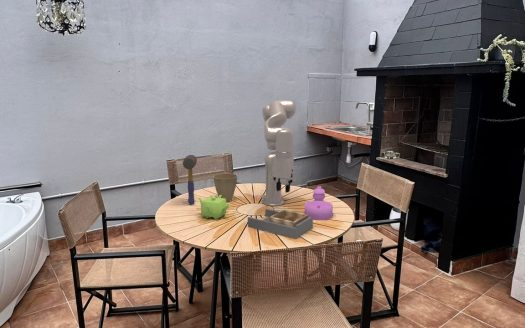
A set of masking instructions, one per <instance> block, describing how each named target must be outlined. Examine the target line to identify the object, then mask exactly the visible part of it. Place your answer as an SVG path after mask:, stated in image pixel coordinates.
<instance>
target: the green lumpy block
mask: <svg viewBox="0 0 525 328" xmlns="http://www.w3.org/2000/svg"><path fill="white" fill-rule="evenodd" d="M221 196H222V195H220V196H219V197H218V196H217V197H216V196H207V197H206V198H204V199H202V198H201V197H197V199H198V201H199V202H200V211H201V213H200V216H201V217H205V219H210V218H213V219H214V220H219V218H221V217H223V216H224V215H225V214H227V209H229V208H230V207H231V205H230V204H229V203H227V202H226V199H223V198H221Z"/></svg>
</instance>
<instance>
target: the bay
mask: <svg viewBox="0 0 525 328" xmlns="http://www.w3.org/2000/svg"><path fill="white" fill-rule="evenodd" d="M279 212H280V211H279V210H275V209H269V208H265V209H264V215H265V216H263V217H261V218H256V217H251V216H247V227H248V228H252V229H255V230H258V231H263V232H266V233H271V234H273V235H274V234H276V235H279V236H282V237H287V238H290V239H295V240H297V239H298V238H300V237H302V236H303V235H304V234H306V233H307V232H309V231H310V230H312V229H313V228H314V225H313V224H314V220H313V219H312V217H309V218H307V219H305V220H304V221H302V222H300V223H299V224H297V225H295V227H291V226H286V225H282V224H278V223H273V222H269V217H271V216H273V215H275V214H277V213H279Z"/></svg>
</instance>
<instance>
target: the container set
mask: <svg viewBox="0 0 525 328" xmlns="http://www.w3.org/2000/svg"><path fill="white" fill-rule="evenodd" d="M325 191H326V190H325V189H324V188H322V186H321V185H318V186H317V187H316V188H315V189H313V191H312V192H313V194H312V198H313V200H310V201H309V200H308V201H306V202H305V203H304V214H307V215H308V218H309V217H312V219H313V221H314V220H315V221H327V220H330V219H332V218H333V207H334V205H333V203H331V202H330V201H329V202H328V201H325V198H326V195H325V193H326V192H325Z"/></svg>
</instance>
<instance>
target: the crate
mask: <svg viewBox="0 0 525 328" xmlns="http://www.w3.org/2000/svg"><path fill="white" fill-rule="evenodd" d="M307 218H308V215H307V214H305V213H303V212H296V211H292V210H287V209H282V210H281V211H279V213H277V214H275V215H273V216H271V217H269V222H273V223H278V224H282V225H286V226H291V227H295V225H297V224H299V223H300V222H302V221H304V220H305V219H307Z"/></svg>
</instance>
